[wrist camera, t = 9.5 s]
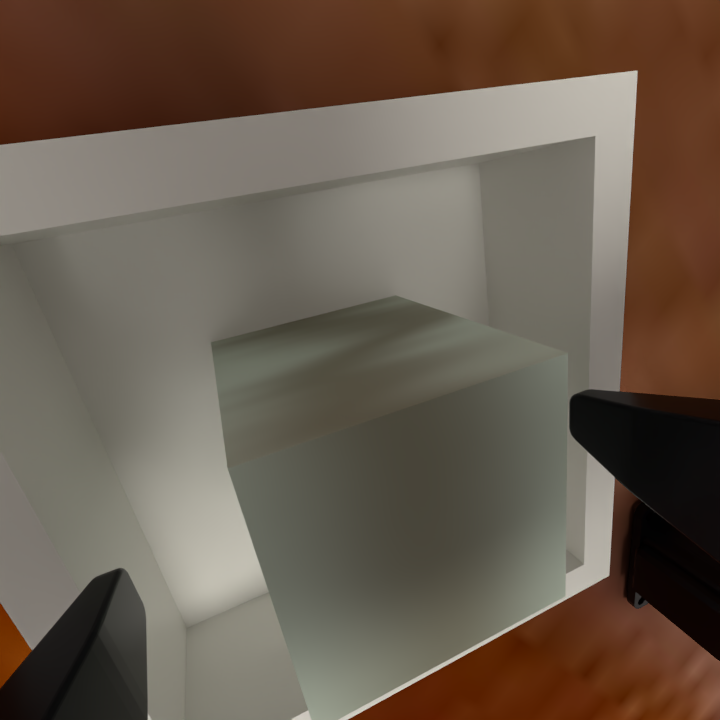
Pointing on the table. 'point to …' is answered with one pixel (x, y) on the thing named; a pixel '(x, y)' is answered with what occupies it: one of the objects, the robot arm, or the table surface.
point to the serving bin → (267, 309)
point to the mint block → (395, 487)
